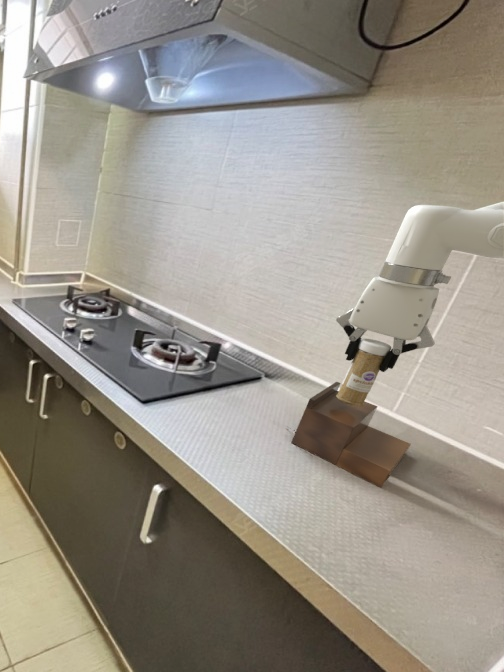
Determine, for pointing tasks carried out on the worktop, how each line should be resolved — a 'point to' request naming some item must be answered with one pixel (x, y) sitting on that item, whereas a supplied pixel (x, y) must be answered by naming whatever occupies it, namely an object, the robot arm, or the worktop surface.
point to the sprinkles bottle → (363, 371)
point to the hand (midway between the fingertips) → (366, 363)
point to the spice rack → (348, 437)
